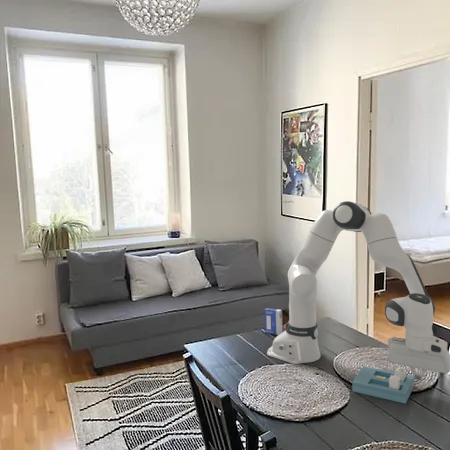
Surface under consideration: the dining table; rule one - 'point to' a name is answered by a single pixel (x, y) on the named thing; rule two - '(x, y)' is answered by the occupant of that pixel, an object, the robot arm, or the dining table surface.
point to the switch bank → (381, 385)
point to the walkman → (273, 321)
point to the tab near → (394, 382)
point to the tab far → (401, 373)
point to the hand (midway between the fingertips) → (418, 379)
